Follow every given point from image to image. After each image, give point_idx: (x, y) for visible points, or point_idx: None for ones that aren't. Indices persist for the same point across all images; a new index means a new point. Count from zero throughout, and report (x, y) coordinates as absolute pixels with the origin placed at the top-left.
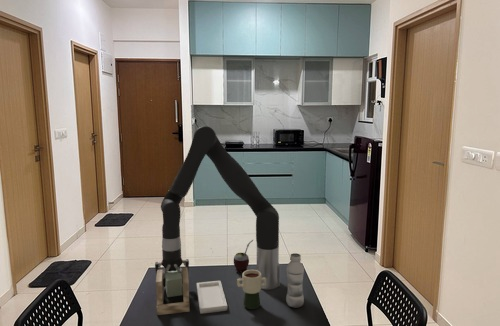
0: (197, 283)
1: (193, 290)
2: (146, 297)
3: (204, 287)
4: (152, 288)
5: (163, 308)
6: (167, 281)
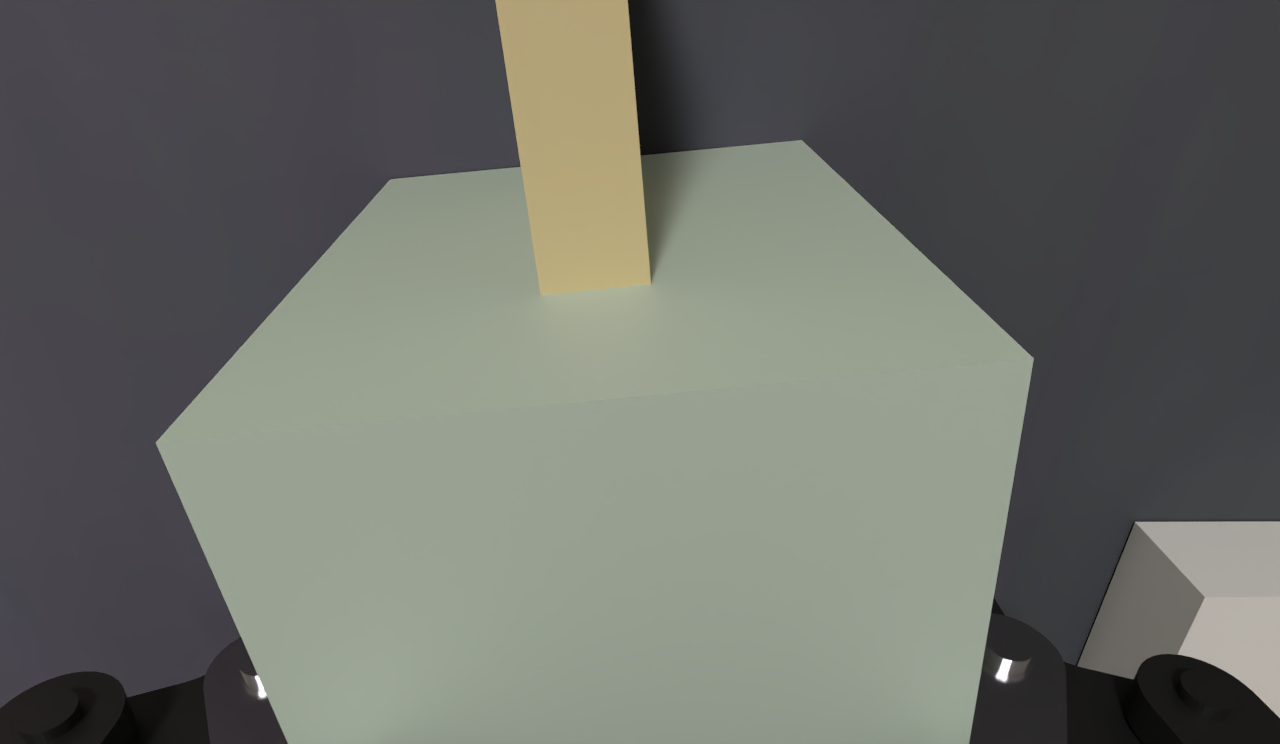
0: (1211, 623)
1: (1029, 607)
2: None
3: (1271, 639)
4: (111, 369)
5: None
6: None
